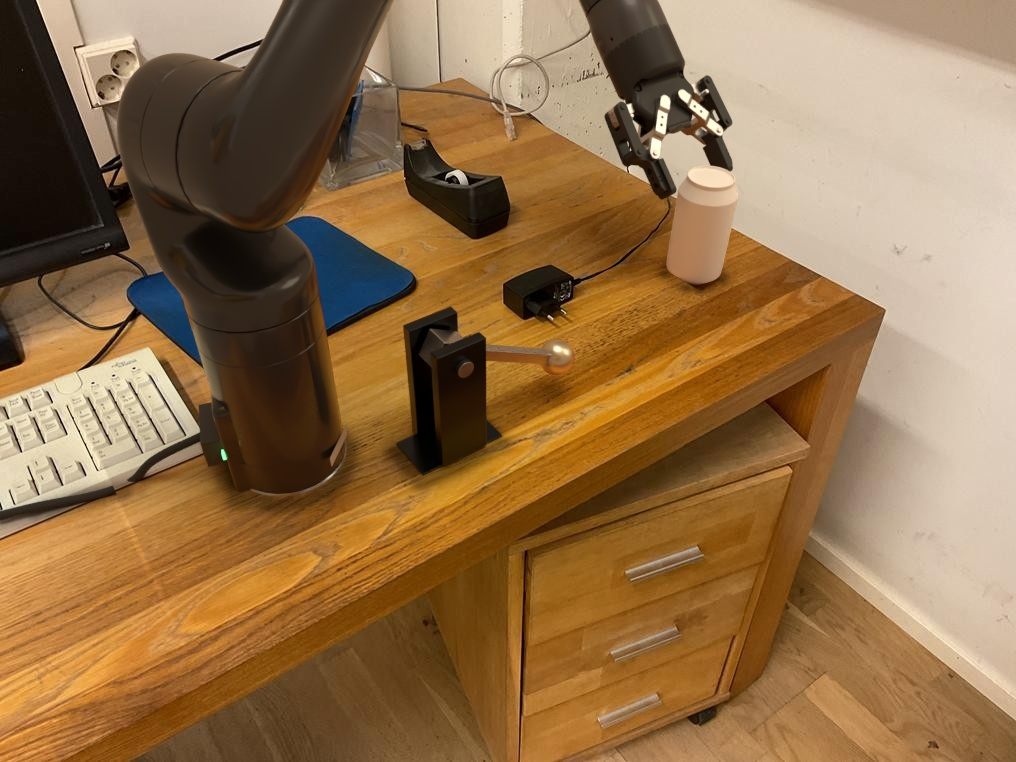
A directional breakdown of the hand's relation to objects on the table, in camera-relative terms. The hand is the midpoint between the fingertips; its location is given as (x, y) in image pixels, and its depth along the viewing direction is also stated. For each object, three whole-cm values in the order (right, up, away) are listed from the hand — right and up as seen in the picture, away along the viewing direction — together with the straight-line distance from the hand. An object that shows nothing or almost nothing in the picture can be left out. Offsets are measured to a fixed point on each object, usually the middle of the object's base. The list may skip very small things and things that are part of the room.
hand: (697, 184), depth 85 cm
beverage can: (+1, -9, +7) cm, 11 cm away
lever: (-21, -20, -17) cm, 33 cm away
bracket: (-25, -26, -15) cm, 39 cm away
